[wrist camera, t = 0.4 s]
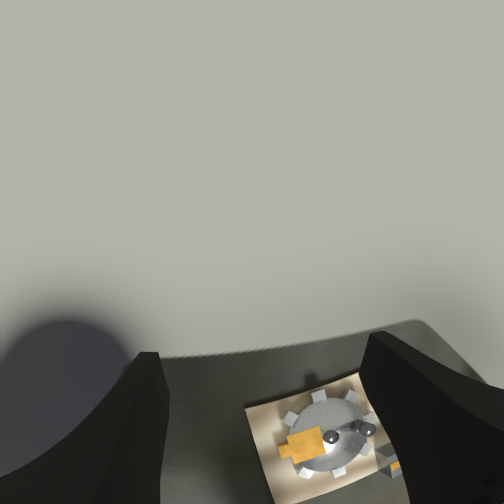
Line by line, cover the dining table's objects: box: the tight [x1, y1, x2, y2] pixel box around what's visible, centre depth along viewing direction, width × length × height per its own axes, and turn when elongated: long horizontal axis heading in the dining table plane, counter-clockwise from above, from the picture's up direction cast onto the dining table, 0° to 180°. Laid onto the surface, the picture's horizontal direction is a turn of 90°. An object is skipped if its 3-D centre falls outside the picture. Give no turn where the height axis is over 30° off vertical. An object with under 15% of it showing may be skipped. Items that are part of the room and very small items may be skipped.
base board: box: [245, 372, 391, 504], centre depth 31 cm, size 17×20×1 cm
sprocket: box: [277, 388, 377, 479], centre depth 29 cm, size 14×14×6 cm
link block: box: [374, 442, 402, 478], centre depth 28 cm, size 4×4×5 cm
